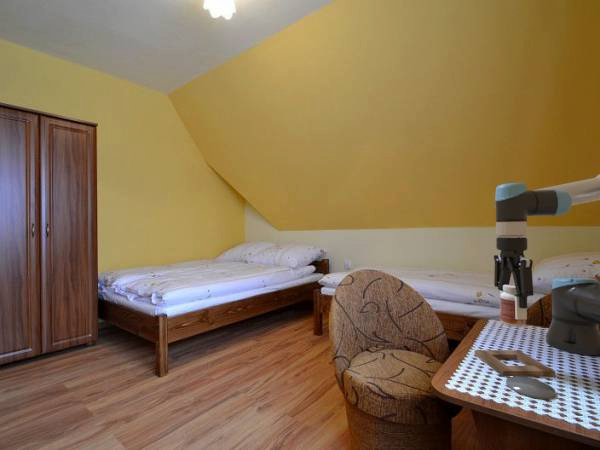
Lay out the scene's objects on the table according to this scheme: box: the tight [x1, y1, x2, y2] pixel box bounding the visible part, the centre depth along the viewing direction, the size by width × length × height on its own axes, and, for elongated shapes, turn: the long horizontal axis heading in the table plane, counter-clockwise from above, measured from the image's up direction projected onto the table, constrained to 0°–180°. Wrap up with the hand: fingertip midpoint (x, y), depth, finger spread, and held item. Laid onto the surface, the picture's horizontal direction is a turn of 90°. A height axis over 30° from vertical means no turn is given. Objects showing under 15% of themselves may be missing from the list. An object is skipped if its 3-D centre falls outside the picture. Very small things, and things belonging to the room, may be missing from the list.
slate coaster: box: [505, 376, 557, 400], centre depth 78 cm, size 10×10×1 cm
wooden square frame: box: [474, 349, 556, 378], centre depth 91 cm, size 14×14×2 cm
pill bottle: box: [499, 284, 527, 328], centre depth 91 cm, size 6×6×11 cm
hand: (512, 315), depth 91 cm, fingers closed on pill bottle, 6 cm apart
